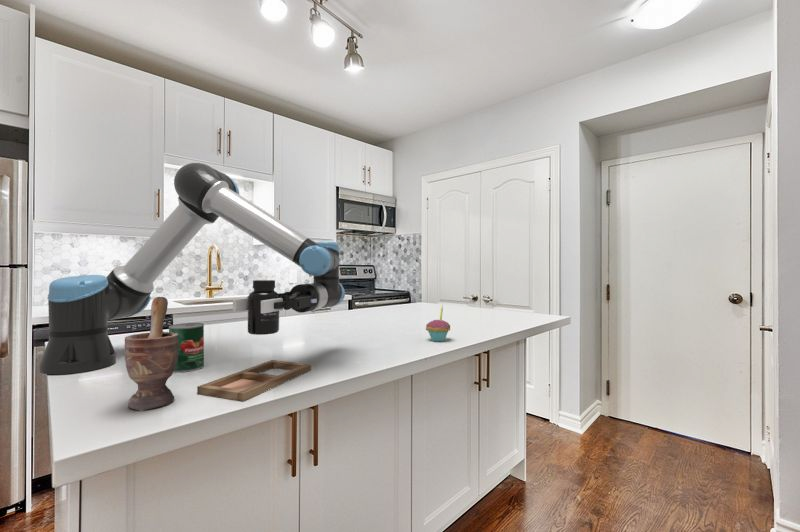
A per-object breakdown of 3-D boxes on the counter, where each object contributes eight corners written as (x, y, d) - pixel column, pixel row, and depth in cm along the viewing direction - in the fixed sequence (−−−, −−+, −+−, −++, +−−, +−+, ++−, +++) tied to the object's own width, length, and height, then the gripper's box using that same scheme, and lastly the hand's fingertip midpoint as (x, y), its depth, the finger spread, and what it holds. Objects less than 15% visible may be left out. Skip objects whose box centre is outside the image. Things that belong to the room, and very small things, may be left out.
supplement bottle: (269, 335, 84) (269, 280, 83) (241, 334, 85) (241, 280, 85) (284, 330, 90) (284, 279, 90) (258, 329, 92) (258, 279, 91)
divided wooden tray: (197, 393, 79) (197, 386, 79) (272, 365, 100) (272, 359, 100) (243, 401, 74) (243, 393, 74) (311, 370, 96) (311, 364, 96)
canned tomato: (194, 372, 94) (193, 327, 94) (161, 372, 94) (161, 327, 94) (209, 363, 102) (209, 322, 102) (180, 363, 102) (179, 322, 102)
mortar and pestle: (121, 398, 76) (120, 297, 76) (171, 388, 82) (170, 295, 82) (127, 415, 67) (127, 302, 67) (182, 404, 73) (182, 299, 73)
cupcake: (438, 336, 139) (438, 304, 139) (455, 340, 133) (455, 306, 132) (420, 340, 134) (420, 305, 134) (438, 343, 127) (438, 307, 127)
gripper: (339, 312, 101) (286, 326, 79) (277, 309, 108) (212, 321, 86) (340, 284, 101) (286, 290, 79) (277, 282, 108) (212, 287, 86)
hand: (248, 306), depth 83 cm, fingers closed on supplement bottle, 7 cm apart
